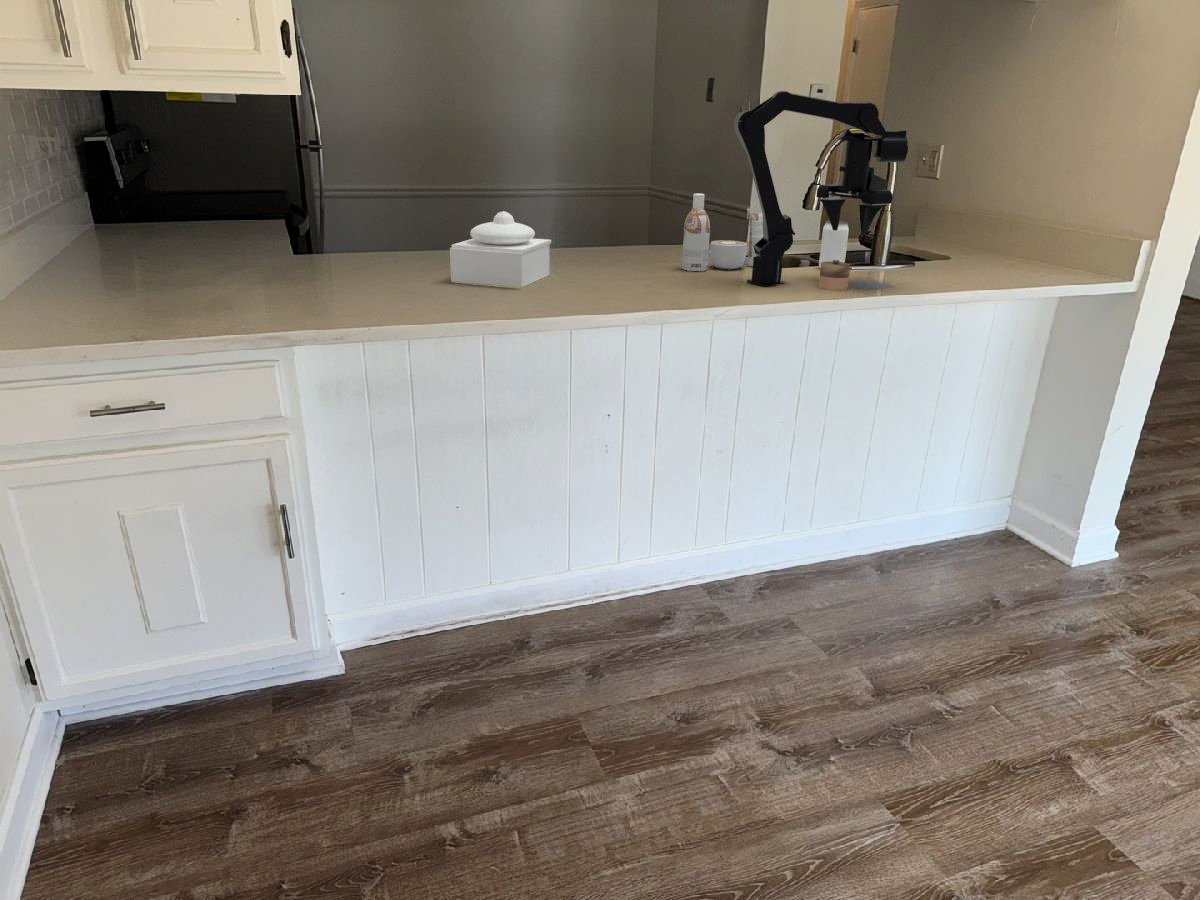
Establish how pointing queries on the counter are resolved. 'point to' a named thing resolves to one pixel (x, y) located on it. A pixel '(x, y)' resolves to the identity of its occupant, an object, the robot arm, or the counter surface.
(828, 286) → the bowl
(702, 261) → the cosmetic set
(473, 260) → the white lidded container
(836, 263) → the lid
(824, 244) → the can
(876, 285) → the mat
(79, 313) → the counter surface
